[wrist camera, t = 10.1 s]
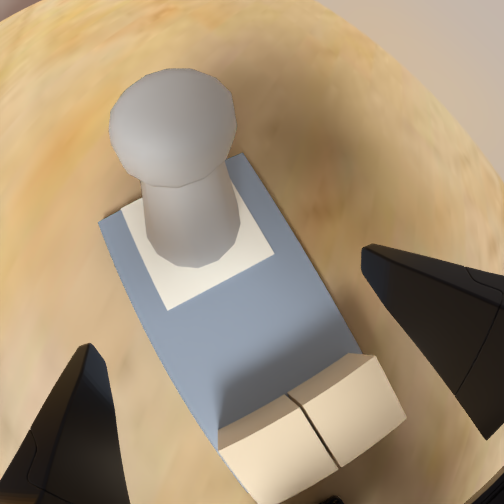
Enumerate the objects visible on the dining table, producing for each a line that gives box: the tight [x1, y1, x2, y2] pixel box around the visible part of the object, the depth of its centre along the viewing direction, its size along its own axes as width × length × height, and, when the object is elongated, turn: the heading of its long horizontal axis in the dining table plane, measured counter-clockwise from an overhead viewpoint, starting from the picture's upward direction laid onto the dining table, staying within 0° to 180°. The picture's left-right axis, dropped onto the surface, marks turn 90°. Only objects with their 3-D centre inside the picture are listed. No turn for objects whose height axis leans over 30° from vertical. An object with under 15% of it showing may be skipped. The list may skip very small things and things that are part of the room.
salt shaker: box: [109, 69, 241, 268], centre depth 15 cm, size 6×6×13 cm
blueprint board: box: [98, 153, 407, 504], centre depth 18 cm, size 22×12×5 cm, turn 30°
